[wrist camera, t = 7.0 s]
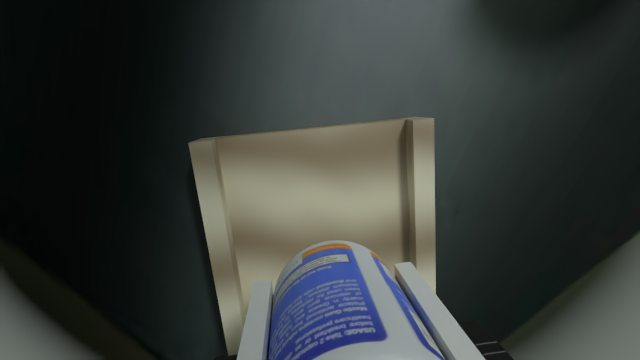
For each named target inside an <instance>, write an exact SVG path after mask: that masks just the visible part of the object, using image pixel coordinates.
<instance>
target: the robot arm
mask: <svg viewBox="0 0 640 360" xmlns="http://www.w3.org/2000/svg"><path fill="white" fill-rule="evenodd" d="M394 272H395V279H396V281H397V282H398V284H399V286H400V288H401V289H402V291H403V292H404V294H405V296H406V297H407V299H408V301H409V302H410V304H411V306H412V307H413V309H414V310H415V312H416V314H417V315H418V317H419V318H420V320H421V322H422V323H423V325H424V326H425V328H426V330H427V331H428V333H429V334H430V336H431V337H432V339H433V341H434V342H435V344H436V345H437V347H438V349H439V350H440V352H441V354H442V355H443V357H444V358H445V360H513V358H512V357H511V356H510V355H509V354H508V353H506V352H505V349H504V348H503V347H502V346H501V345H500V344H499V343H497V340H496V339H495V338H494V337H493V336H492V334H491V333H490V332H489V331H488V330H487V329H486V328H484V327H483V326H481V325H480V324H478V323H476V322H475V321H473V320H472V321H464V322H456V320H455V319H454V318H453V316H452V315H451V314H450V312H449V311H448V310H447V309H446V307H445V306H444V305H443V303H442V302H441V301H440V299H439V298H438V297H437V295H436V294H435V293H434V292H433V290H432V289H431V288H430V286H429V285H428V284H427V282H426V281H425V280H424V278H423V277H422V276H421V275H420V273H419V272H418V271H417V269H416V268H415V267H414V265H413V264H412V263H411V262H404V263H397V264H394ZM273 297H274V294H273V287H272V280H263V281H255V282H254V284H253V288H252V293H251V297H250V302H249V306H248V311H247V315H246V320H245V324H244V329H243V333H242V338H241V342H240V347H239V351H238V354H236V355H229V356H222V357H216V358H215V359H214V360H268V358H269V345H270V333H271V320H272V307H273Z"/></svg>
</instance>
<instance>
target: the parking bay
mask: <svg viewBox="0 0 640 360" xmlns="http://www.w3.org/2000/svg"><path fill="white" fill-rule="evenodd" d="M188 144H189V149H190V155H191V160H192V165H193V171H194V176H195V181H196V187H197V192H198V197H199V203H200V208H201V213H202V218H203V224H204V229H205V234H206V240H207V245H208V250H209V256H210V261H211V266H212V272H213V277H214V282H215V287H216V293H217V298H218V303H219V309H220V314H221V319H222V325H223V330H224V335H225V341H226V346H227V351H228V356H229V355H236V354H238V351H239V347H240V342H241V338H242V333H243V329H244V324H245V320H246V315H247V311H248V306H249V302H250V297H251V293H252V288H253V284H254V282H255V281H263V280H272V287H273V294H274V291H275V286H276V283H277V280H278V278H279V276H280V274H281V272H282V270H283V269H284V267H285V266H286V265H287V264H288V262H289V261H290V260H291V259H292V258H293V257H294V256H296V255H297V254H298V253H300V252H301V251H303V250H304V249H306V248H308V247H310V246H312V245H315V244H318V243H321V242H325V241H331V240H343V241H350V242H354V243H357V244H360V245H362V246H364V247H366V248H368V249H370V250H371V251H372V252H374V253H375V254H376V255H378V256H379V257H380V258H381V259H382V260H383V262H384V263H385V264H386V265H387V267H388V268H389V270H390V271H391V273H392V274H393V276H394V277H395V272H394V264H397V263H404V262H411V263H412V264H413V265H414V267H415V268H416V269H417V271H418V272H419V273H420V275H421V276H422V277H423V278H424V280H425V281H426V282H427V284H428V285H429V286H430V288H431V289H432V290H433V292H434V293H435V294H436V264H435V164H434V118H424V117H412V118H402V119H392V120H382V121H372V122H362V123H352V124H342V125H332V126H322V127H312V128H302V129H292V130H282V131H272V132H262V133H252V134H242V135H232V136H222V137H212V138H202V139H198V140H196V141H193V142H190V143H188Z"/></svg>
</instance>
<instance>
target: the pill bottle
mask: <svg viewBox="0 0 640 360" xmlns="http://www.w3.org/2000/svg"><path fill="white" fill-rule="evenodd" d="M268 360H445V358H444V357H443V355H442V354H441V352H440V350H439V349H438V347H437V345H436V344H435V342H434V341H433V339H432V337H431V336H430V334H429V333H428V331H427V330H426V328H425V326H424V325H423V323H422V322H421V320H420V318H419V317H418V315H417V314H416V312H415V310H414V309H413V307H412V306H411V304H410V302H409V301H408V299H407V297H406V296H405V294H404V292H403V291H402V289H401V288H400V286H399V284H398V282H397V281H396V279H395V277H394V276H393V274H392V273H391V271H390V270H389V268H388V267H387V265H386V264H385V263H384V262H383V260H382V259H381V258H380V257H379V256H378V255H376V254H375V253H374V252H372V251H371V250H370V249H368V248H366V247H364V246H362V245H360V244H357V243H354V242H350V241H343V240H331V241H325V242H321V243H318V244H315V245H312V246H310V247H308V248H306V249H304V250H303V251H301V252H300V253H298V254H297V255H296V256H294V257H293V258H292V259H291V260H290V261H289V262H288V264H287V265H286V266H285V267H284V269H283V270H282V272H281V274H280V276H279V278H278V280H277V283H276V286H275V291H274V297H273V307H272V320H271V333H270V345H269V358H268Z"/></svg>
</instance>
